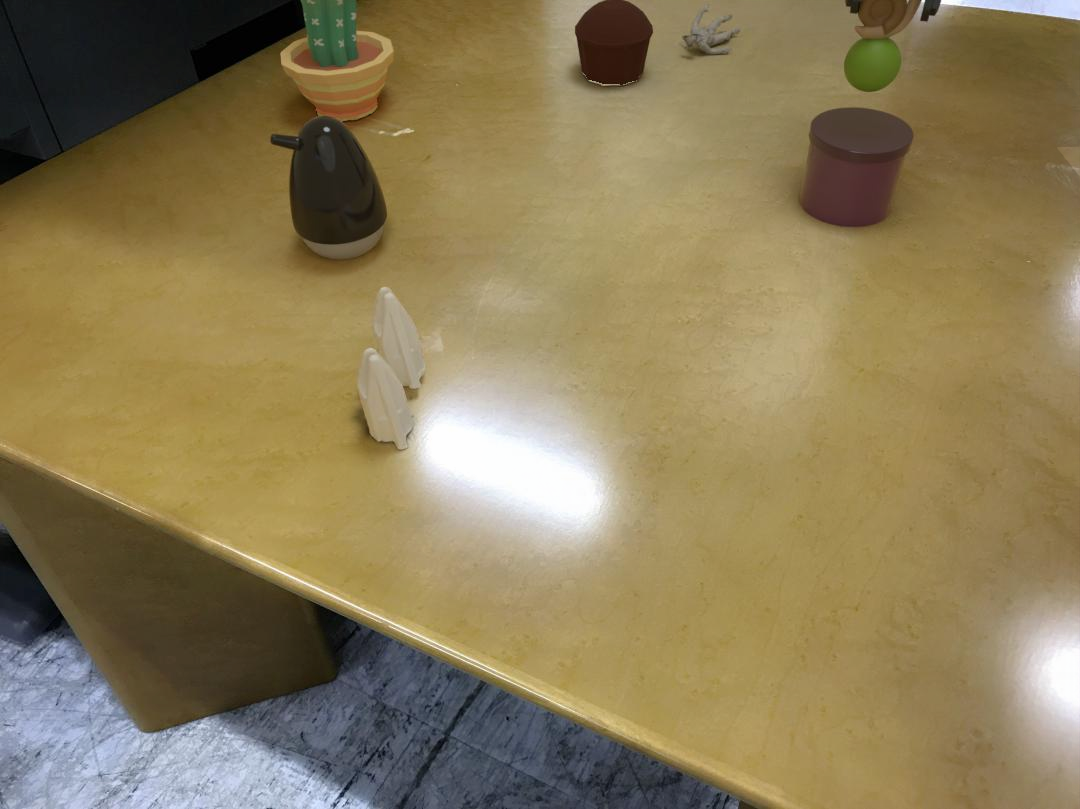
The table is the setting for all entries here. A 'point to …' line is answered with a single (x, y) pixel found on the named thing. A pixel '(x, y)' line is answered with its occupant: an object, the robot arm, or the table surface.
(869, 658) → the table surface
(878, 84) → the snail figurine
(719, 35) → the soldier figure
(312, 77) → the potted cactus
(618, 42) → the muffin
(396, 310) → the shaker set
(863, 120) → the jar
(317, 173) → the pump dispenser
